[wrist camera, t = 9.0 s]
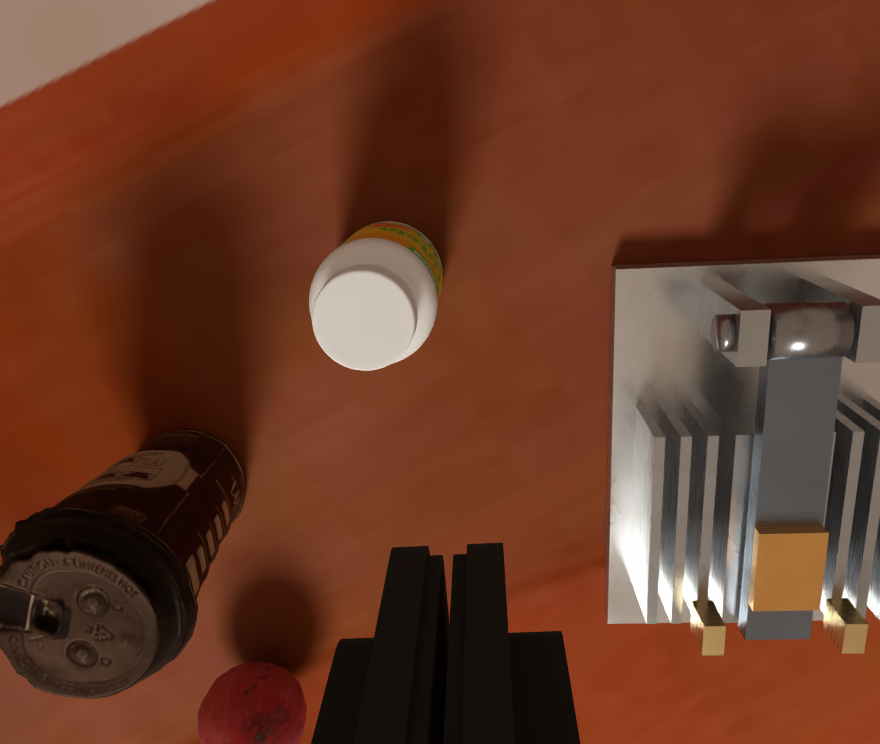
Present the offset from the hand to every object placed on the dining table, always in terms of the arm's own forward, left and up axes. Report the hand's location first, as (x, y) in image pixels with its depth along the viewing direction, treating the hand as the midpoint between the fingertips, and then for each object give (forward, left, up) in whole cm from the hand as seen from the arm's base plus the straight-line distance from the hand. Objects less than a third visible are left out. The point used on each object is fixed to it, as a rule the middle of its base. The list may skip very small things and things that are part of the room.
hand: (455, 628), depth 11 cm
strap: (+9, +14, -23) cm, 28 cm away
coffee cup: (+11, -16, -28) cm, 34 cm away
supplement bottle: (0, -4, -28) cm, 28 cm away
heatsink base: (+10, +14, -28) cm, 33 cm away
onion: (+24, -13, -28) cm, 39 cm away
